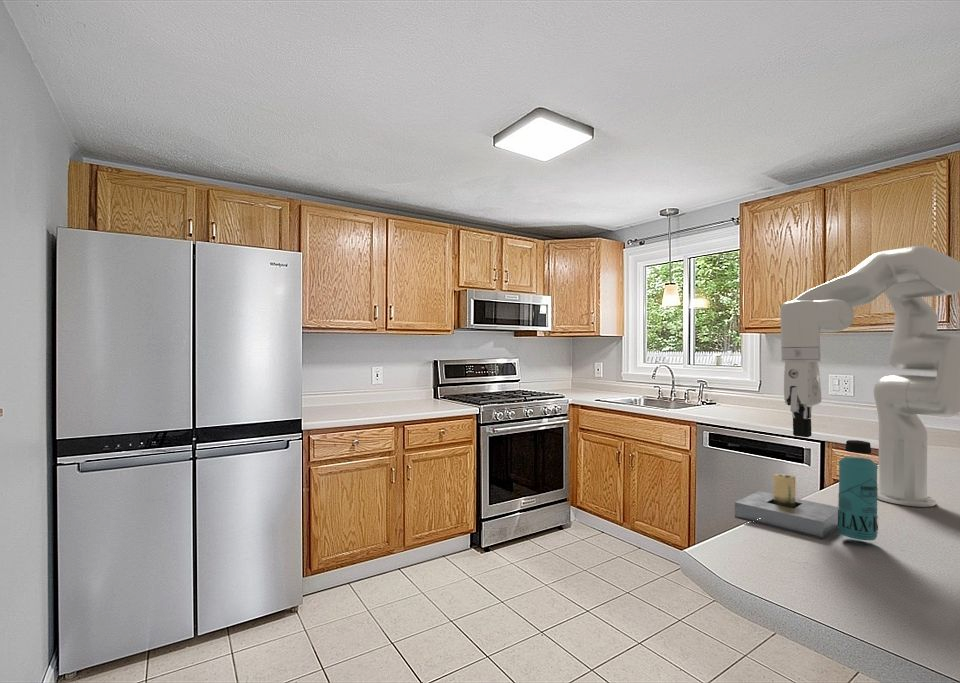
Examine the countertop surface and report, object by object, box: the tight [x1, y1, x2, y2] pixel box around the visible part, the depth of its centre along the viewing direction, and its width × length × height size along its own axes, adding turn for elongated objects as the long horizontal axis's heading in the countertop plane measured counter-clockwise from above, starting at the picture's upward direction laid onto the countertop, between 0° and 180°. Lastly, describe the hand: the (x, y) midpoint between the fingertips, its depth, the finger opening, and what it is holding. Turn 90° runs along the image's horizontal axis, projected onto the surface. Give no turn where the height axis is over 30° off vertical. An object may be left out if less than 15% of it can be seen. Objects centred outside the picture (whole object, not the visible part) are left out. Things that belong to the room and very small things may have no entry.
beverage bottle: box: [837, 439, 879, 541], centre depth 101 cm, size 6×7×20 cm
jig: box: [734, 490, 839, 540], centre depth 113 cm, size 14×17×4 cm
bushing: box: [773, 473, 796, 508], centre depth 115 cm, size 4×4×9 cm
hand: (802, 435), depth 116 cm, fingers closed
